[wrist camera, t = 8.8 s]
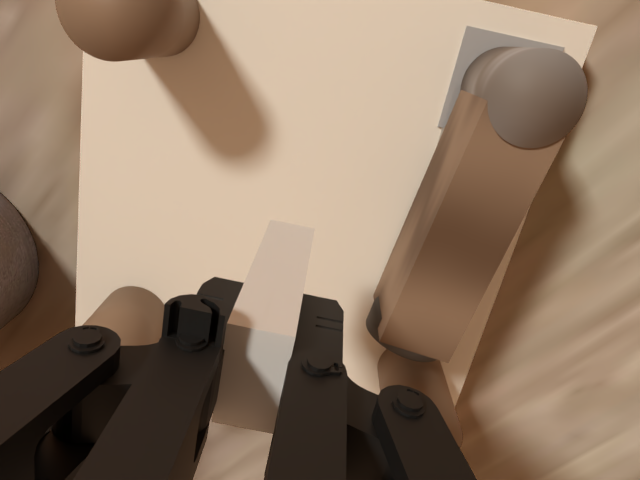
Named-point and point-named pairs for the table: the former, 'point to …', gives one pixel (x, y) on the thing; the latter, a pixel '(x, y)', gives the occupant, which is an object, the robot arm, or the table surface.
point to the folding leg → (474, 196)
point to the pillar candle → (15, 262)
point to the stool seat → (274, 150)
